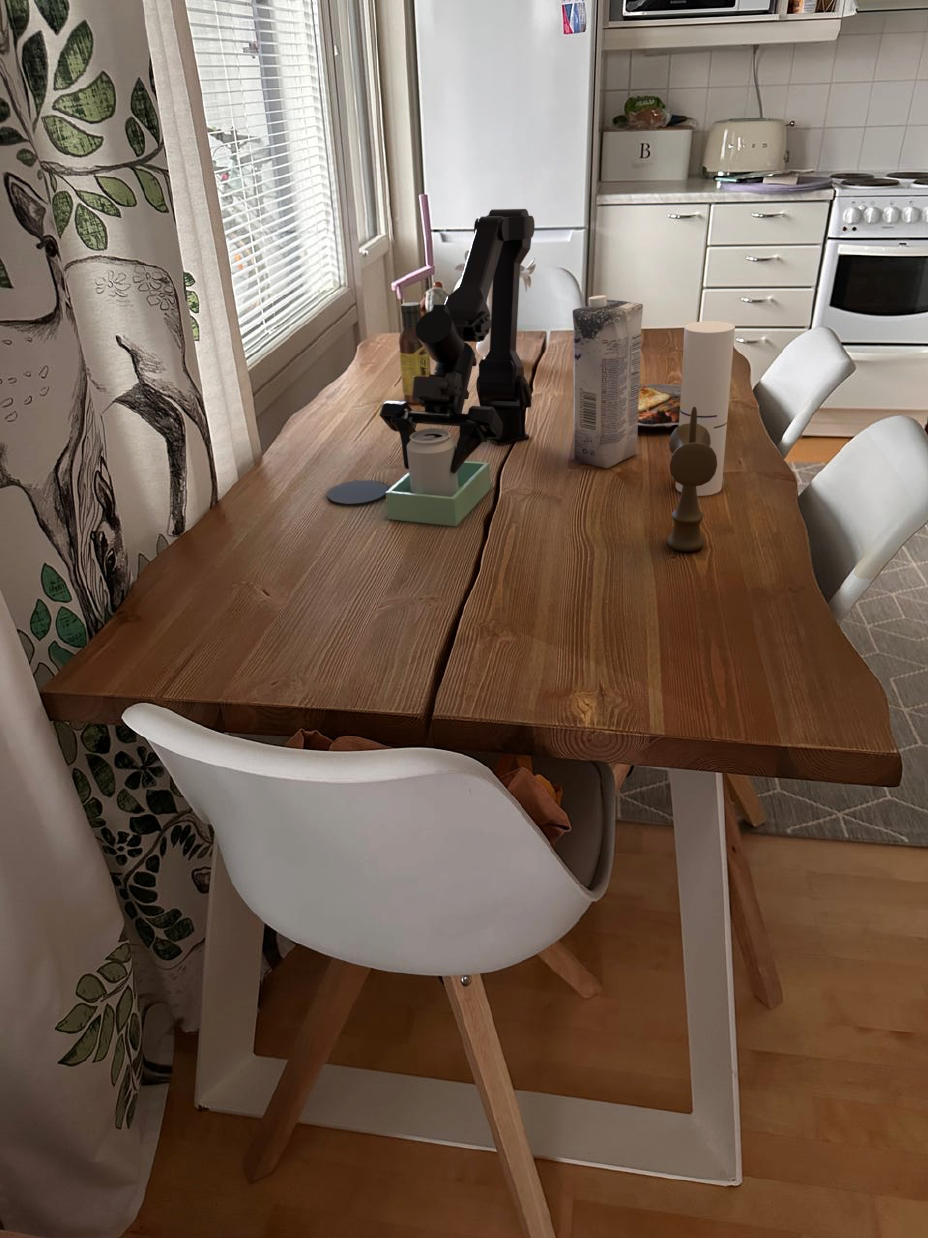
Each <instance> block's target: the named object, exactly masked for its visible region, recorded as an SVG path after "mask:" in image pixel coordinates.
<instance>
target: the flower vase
mask: <svg viewBox="0 0 928 1238" xmlns="http://www.w3.org/2000/svg"><path fill="white" fill-rule="evenodd" d="M469 252H470V250H469V249H468V250H466V251H465V252H464V261H465V263H459V264H458V265H456V267H455V268H454V270H455V271H456V272H464V268H465V265H466V262H467V258H468V255H469ZM535 259H536V257H534V258H533V259H532V260H531V261H530V263H529V264H528V265H527V266H526V267H525V266H524V265H522V264H521V265H520V279H522V281H523V285H524V290H525V293H527V291H528V288H529V289H530V288H531V286H532V278H531V276H530V275H532V274H533V273H534V271H535V269H536V265H537V264H536V263H534V262H535ZM462 275H463V273H462V274H461V275H460V278H462ZM492 284H493V280H492V283H491V287H490V290H489V294H488V298H487V306H488V309H489V311H490V315H491V307H492ZM490 320H491V316H490ZM490 330H491V327H490ZM490 330H489V333H488V335H486V337H485V339H484V340H483V341H481V342H476V346H475V349H476V352H477V354H478V355H479V356H480V357H482V359H484V358H485V356H486V355H487V353H488V352H489V350H490Z"/></svg>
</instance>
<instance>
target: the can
mask: <svg viewBox="0 0 928 1238" xmlns="http://www.w3.org/2000/svg"><path fill="white" fill-rule="evenodd" d="M451 436H452V435H451V432H450V431H449V430H447V429H445V428H440V427H439V428H436V427H432V428H423V429H418V430H416V432H414V433H412V434H411V435H410V439H411V440H410V442H409V443H408V444H407V455H408V465H409V469H408V472H409V475H410V485H411V493H415V494H425V495H436V496H446V497H452V496H453V495H454V494H455V493H456V492H457V491H458V490H459V488H458V474H457V472H456V473H455V474H454V473H452V472H451V465H452V460H453V456H454V453H455V449H456V446H457V445H456V441H455V440H454V439H453V438H452V437H451Z"/></svg>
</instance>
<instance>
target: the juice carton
mask: <svg viewBox="0 0 928 1238" xmlns="http://www.w3.org/2000/svg"><path fill="white" fill-rule="evenodd" d="M643 310H644V304H643V303H638V302H632V301H625V300H615V299H607V295H604V294H603V295H602V294H601V295H593V296H590V297H588V306H584V307H578V308H574V309H572V323H573V456H574V457H573V458H574V460H575V461H576V462H579V463H584V464H588V465H592V466H595V467H600V468H603V469H609V468H612V467H613V466H615V465H617V464H618V463H621V462H622V461H625V460H627V459H629V458H631V457H633V456H635V454H636V453H637V445H638V430H639V429H638V427H639V426H638V406H639V385H640V380H641V379H640V377H641V375H640V374H641V349H642V321H643Z"/></svg>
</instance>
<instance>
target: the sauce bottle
mask: <svg viewBox="0 0 928 1238" xmlns="http://www.w3.org/2000/svg"><path fill="white" fill-rule="evenodd" d="M421 311H422V308H421V303H420V302H418V301H417V302H416V301H411V302H403V303H401V304H400V312H401V314H402V315H401V316H402V326H403V327H402V329H401V332H400V333H399V337H398V345H399V346H398V347H399V352H398V353H399V363H400V364H399V365H400V375H401V388H402V394H403V401H404V402H407V403H408V404H419V400H420V399H418V398H415V399H414V398H412V391H413V380H414V376H422V377H428V376H429V375H430V374H432V370H431V369H432V368H431V357H430V356H429V354H428V353H427V351H426V350H425V348H424V346H423V345H422V343H421V342H420V340H419V339H418V337H417V335H416V331H415V330H416V324H417V322H419V320H420V318H421V317H422V316H421Z"/></svg>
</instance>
